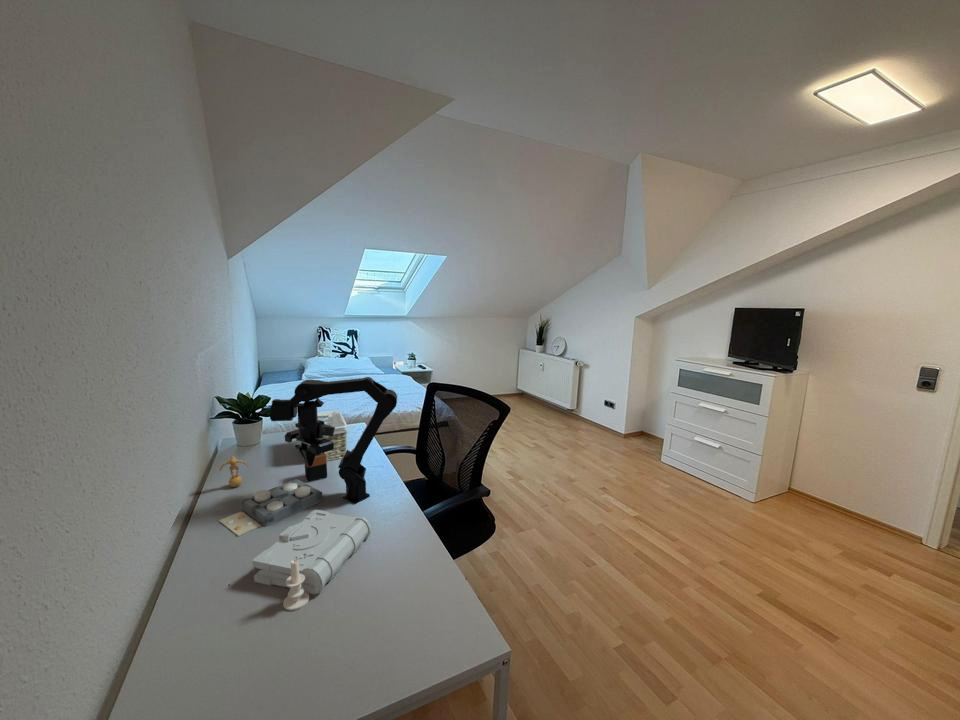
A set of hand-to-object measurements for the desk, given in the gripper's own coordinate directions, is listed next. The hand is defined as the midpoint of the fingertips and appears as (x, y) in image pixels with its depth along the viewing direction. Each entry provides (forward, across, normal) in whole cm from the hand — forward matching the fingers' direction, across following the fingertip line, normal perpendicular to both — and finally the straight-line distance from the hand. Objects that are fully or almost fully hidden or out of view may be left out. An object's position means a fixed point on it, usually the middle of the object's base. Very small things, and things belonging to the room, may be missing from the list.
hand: (310, 466), depth 124 cm
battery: (+12, +13, -10) cm, 20 cm away
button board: (+12, +4, +7) cm, 15 cm away
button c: (+11, +1, +12) cm, 16 cm away
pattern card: (+12, +4, +20) cm, 24 cm away
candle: (+12, -36, +26) cm, 46 cm away
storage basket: (+12, +32, -26) cm, 43 cm away
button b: (+11, +8, +2) cm, 14 cm away
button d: (+9, +8, +11) cm, 17 cm away
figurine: (+12, +28, +11) cm, 32 cm away
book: (+13, -26, +13) cm, 31 cm away
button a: (+9, +1, +2) cm, 10 cm away
